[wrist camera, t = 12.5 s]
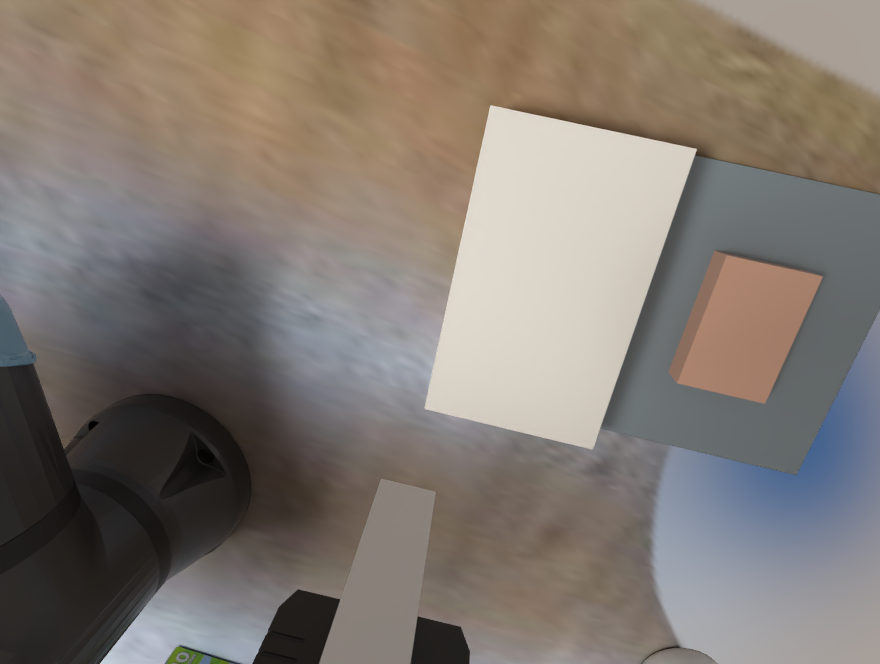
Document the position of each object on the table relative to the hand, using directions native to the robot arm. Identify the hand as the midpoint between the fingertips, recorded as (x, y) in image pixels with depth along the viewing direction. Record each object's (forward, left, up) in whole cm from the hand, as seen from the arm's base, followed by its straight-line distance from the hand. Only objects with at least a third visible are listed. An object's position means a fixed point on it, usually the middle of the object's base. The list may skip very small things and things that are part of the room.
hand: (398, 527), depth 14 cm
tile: (+3, -18, -23) cm, 29 cm away
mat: (+3, -19, -25) cm, 32 cm away
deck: (+3, -5, -25) cm, 26 cm away
